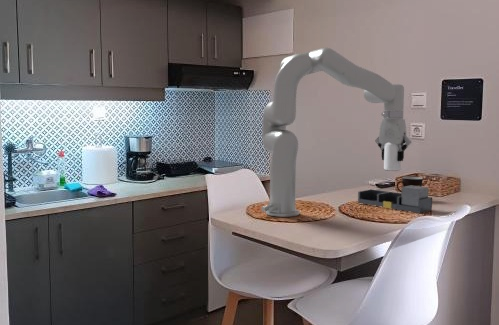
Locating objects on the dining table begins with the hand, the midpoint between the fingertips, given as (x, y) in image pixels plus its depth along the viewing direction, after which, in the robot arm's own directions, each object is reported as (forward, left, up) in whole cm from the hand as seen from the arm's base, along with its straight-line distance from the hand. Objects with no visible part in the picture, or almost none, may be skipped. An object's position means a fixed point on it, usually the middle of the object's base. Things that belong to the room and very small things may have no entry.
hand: (392, 159), depth 201 cm
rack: (+1, -1, -19) cm, 19 cm away
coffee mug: (+20, +3, -20) cm, 28 cm away
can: (0, 0, -4) cm, 4 cm away
